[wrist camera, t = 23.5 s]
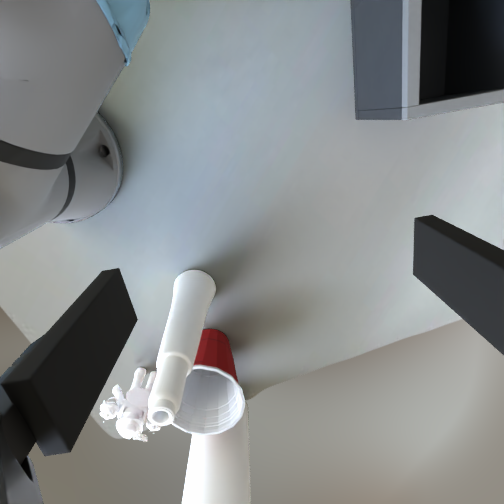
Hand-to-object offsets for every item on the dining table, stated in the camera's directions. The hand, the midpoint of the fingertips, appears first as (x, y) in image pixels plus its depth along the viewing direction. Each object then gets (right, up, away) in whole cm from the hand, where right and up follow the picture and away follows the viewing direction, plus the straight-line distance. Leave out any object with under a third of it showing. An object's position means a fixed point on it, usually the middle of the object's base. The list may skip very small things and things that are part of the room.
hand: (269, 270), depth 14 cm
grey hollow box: (+17, +15, +18) cm, 30 cm away
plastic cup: (-7, -13, +36) cm, 40 cm away
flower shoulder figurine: (-18, -19, +38) cm, 46 cm away
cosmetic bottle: (-9, -4, +33) cm, 34 cm away
